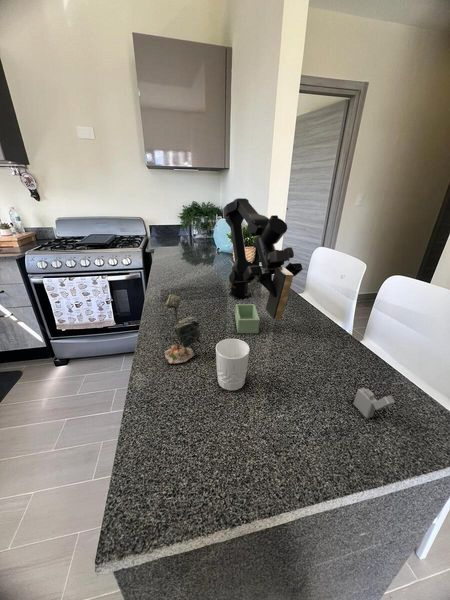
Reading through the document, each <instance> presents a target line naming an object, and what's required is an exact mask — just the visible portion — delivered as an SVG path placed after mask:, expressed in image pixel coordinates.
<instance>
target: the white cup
mask: <svg viewBox="0 0 450 600" xmlns="http://www.w3.org/2000/svg"><path fill="white" fill-rule="evenodd" d="M250 350H251V349H250V345H249V344H248V343H247V342H246V341H244V340H242V339H238V338H225V339H222V340H219V341H218V343H216V345H215V362H216V363H215V364H216V374H217V383H218V385H219V387H221V388H222V389H223V390H227V391H237V390H240V389H242V388H243V386H244V385H245V383H246V376H247V372H248V365H249V357H250Z"/></svg>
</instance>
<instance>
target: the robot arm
mask: <svg viewBox="0 0 450 600" xmlns="http://www.w3.org/2000/svg"><path fill="white" fill-rule="evenodd" d="M222 212H223V213H222V214H223V217H224V220H225V223H226V224H227V225H228V226H229V227H230V234H231V235H230V236H231V242H232V249H233V258H234V262H233V264H232V267H231V272H230V274H229V275H228V280H229V283H230V284H231V291H230V292H229V295H230V296H232V297H234V298H236V299H237V300H240V299H243V298H247V297H249V296H250V294H249V293H248V290H249V289H248V287H249V286H248V285H249V284H252V282H253V281H254V280H255V278H256V277H257V280H256V283H259V284H261V285H262V286H263V288H265V289H266V290H267V291H268V292H269V293H271V294H272V296H273V297H276V296H277V295H276V291H275V288H274V284H273V275H274V272H275V268H276V267H282V268H285V269H287V270H288V271H289V272H291V273H292V274H293V275H294V276H293V278H294V277H296V276H297V275H298V274H300V272H302V271H303V270H304V266H303V264H302V263H301V262H300V261H294V262H293V261H291V262H290V260H291V259H293V258H294V257H295V252H294V249H293V247H285V248H283V249H277V248H276V245H275V244H278V242H279V241H280V240H281V239H282V237H283V236H284V235H285V234H286V232H287V231H288V225H287V223H286V222H285V221H284V220H283V219H281V218H279V216H278V215H276V214H275V215H271V216H270V217H267V216H266V215H263V214H260V213H258V211H257V210H256V209H255V208H254V207H253V206H252V204H251V203H250V201H249V199H248V198H241V197H240V198H239V197H238V198H235V199H233V201H230V202H229V203H227V204H226V205H225V206H224V207H223V210H222ZM244 220H245V222H246V223H247V227H246V229H247V232H248V234H249V236H251V237H257V238H256V239H255V241H254V243H253V248H256V250H257V253H258V257H259V258H258V260H257V261H258V263H260V264H261V265H259V264H257V265H252V261H249V260H248V258H247V254H246V247H245V240H244V233H243V226H242V225H243V223H244ZM287 261H288V262H289V263H288V264H287V265H286V266H284V265H285V263H286V262H287Z"/></svg>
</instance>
